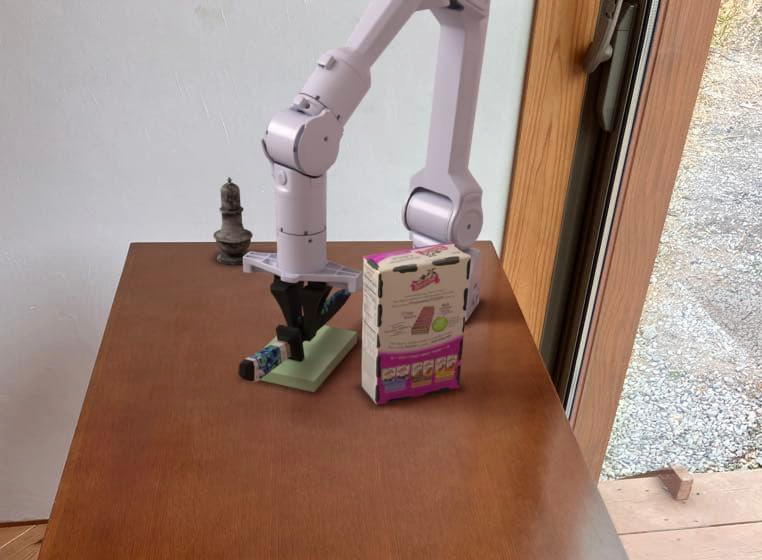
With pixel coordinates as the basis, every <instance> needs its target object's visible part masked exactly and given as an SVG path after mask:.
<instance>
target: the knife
mask: <svg viewBox="0 0 762 560" xmlns="http://www.w3.org/2000/svg"><path fill="white" fill-rule="evenodd" d="M351 296H352V293H351V292H349V291H348V289H343V288H340V289H339V290H337V291H336V292H335V293H333V294H332V295H331V296H330V297H328V298H327V300H326V302H325V304H324V307H323V309H322V312H321V315H320V319H319V323H318V327H317V331H318V330H319V329H320V328H322V327H323V326H324V325H326V324H327V323H329V321H330V320H332V318H333V317H334V316H336V314H337V313H339V311H340V310H341V309H342V308H343V307H344V306H345V305H346V303H347V301H348V300H349V298H350V297H351ZM275 333H276V336H277V340H278V341H277V342H275V343H273V344H272V345H270V346H268V347H266V346H265V347H266V348H265V347H264V348H262V349H261V350H259V351H256V352H255V353H253V354H252V355H250V356H248V357H246V358H244V359H243V360H241V362H240V363H239V365H238V371H237V372H238V373H237V374H238V376H239V377H240V378H241V379H243V381H245V382H249V383H253V384H256V383H257V382H259V381H261V380H260V379H261V378H262V377H264V376H265V375H266V374H268V373H269V372H270V371H272V370H273V369H274V368H276V367H277V366H278V365H280V364H281V363H282V362H284V361H285V360H286V359H291V360H295V361H299V362H302V361H303V360H304V358H305V356H304V349H303V342H304V341H305V339H304V315H302V316H299V317H298V325H297V327H296V328H293V327H289V326H287V325H285V324H280V323H279V324H278V325H277V326H276V327H275Z"/></svg>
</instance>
